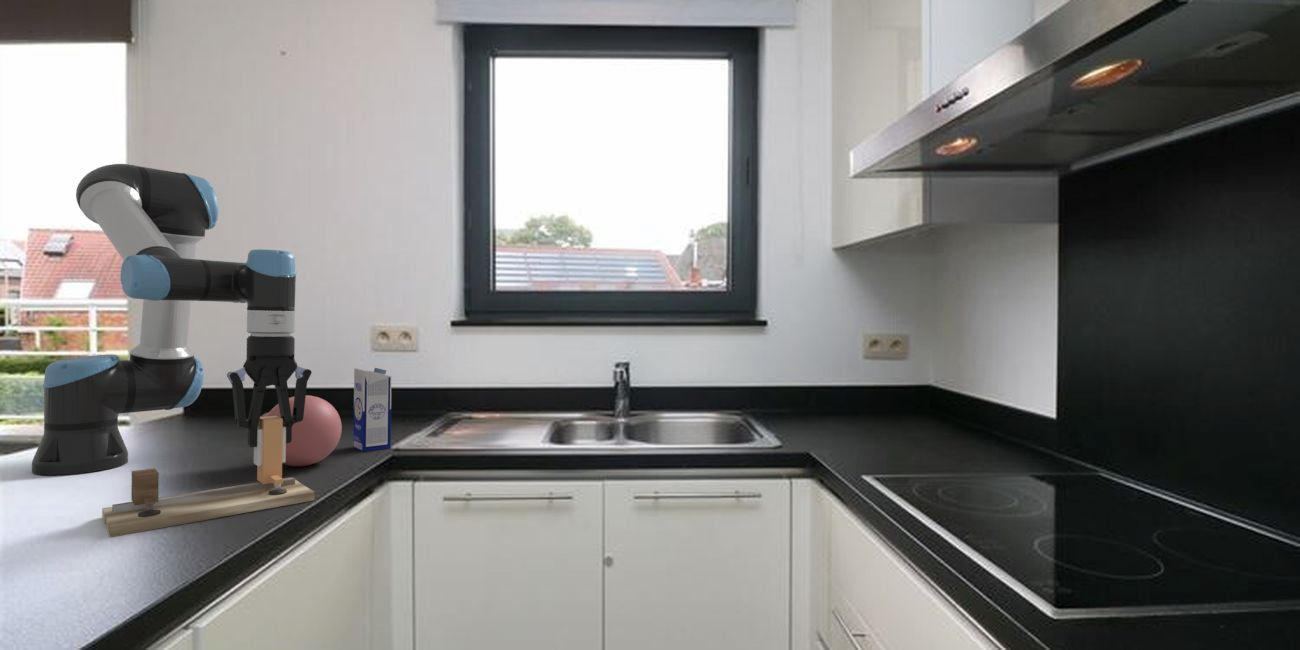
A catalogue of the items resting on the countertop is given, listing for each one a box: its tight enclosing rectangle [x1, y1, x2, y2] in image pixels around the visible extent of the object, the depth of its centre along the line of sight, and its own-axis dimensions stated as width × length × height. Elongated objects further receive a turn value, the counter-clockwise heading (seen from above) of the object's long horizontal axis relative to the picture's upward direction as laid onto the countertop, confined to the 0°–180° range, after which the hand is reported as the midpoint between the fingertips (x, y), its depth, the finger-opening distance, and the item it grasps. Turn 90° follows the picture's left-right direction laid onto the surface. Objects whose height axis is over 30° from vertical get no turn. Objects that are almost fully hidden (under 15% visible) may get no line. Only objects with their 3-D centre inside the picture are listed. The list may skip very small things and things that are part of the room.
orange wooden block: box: [256, 416, 284, 490], centre depth 114 cm, size 8×3×12 cm, turn 45°
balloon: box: [246, 394, 343, 467], centre depth 139 cm, size 15×20×15 cm
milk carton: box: [352, 367, 392, 452], centre depth 158 cm, size 7×7×20 cm
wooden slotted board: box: [101, 467, 316, 538], centre depth 108 cm, size 12×28×7 cm, turn 135°
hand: (269, 462), depth 116 cm, fingers closed on orange wooden block, 3 cm apart
